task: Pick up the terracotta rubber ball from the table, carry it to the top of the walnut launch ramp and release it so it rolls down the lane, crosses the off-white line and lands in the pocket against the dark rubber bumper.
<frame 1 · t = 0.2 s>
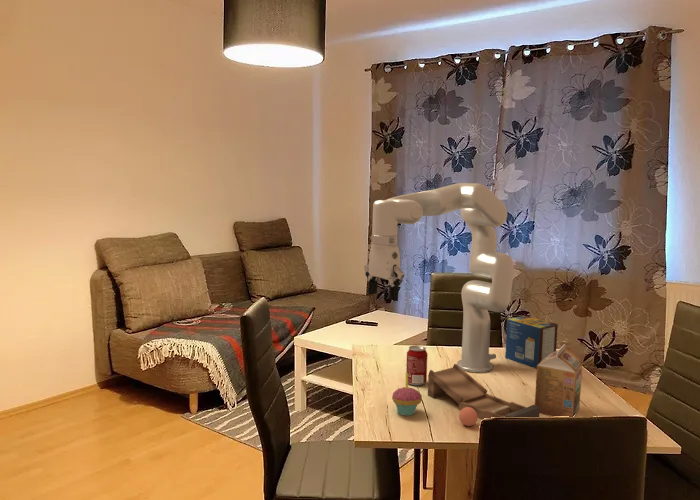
hand: (382, 296, 174), 31 cm above the table, tool pointing down, fingers open, 9 cm apart
ball: (467, 425, 156), on the table
soda can: (416, 383, 188), on the table
milk carton: (556, 411, 167), on the table
protein box: (529, 362, 213), on the table
cupcake: (406, 413, 164), on the table
lane: (476, 407, 168), on the table
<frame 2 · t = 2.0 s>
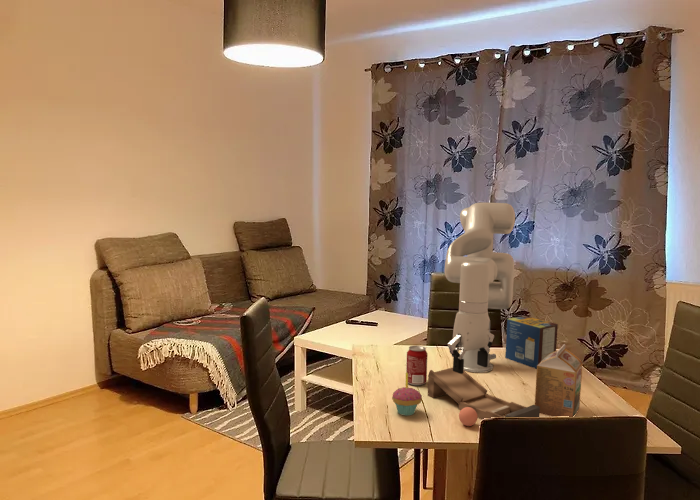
hand: (470, 369, 154), 16 cm above the table, tool pointing down, fingers open, 9 cm apart
nothing on the table moved.
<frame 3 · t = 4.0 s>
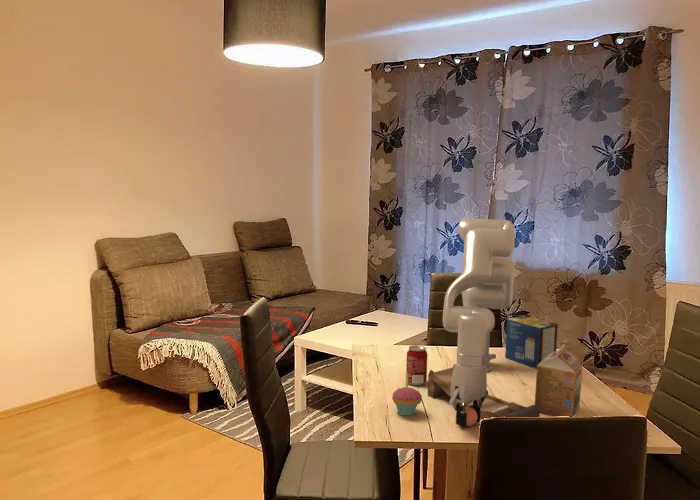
hand: (467, 422, 156), 1 cm above the table, tool pointing down, fingers closed on ball, 4 cm apart
ball: (467, 425, 156), on the table, touching gripper
everything else where it was.
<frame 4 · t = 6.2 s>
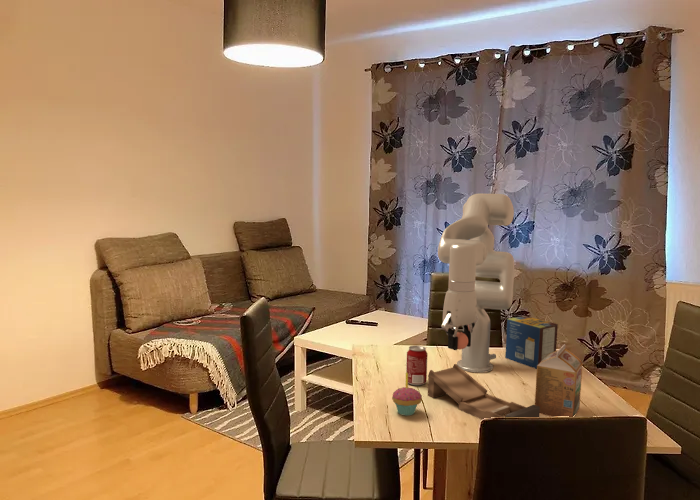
hand: (459, 346, 166), 19 cm above the table, tool pointing down, fingers closed on ball, 4 cm apart
ball: (459, 349, 166), point 18 cm above the table, touching gripper
everything else where it was.
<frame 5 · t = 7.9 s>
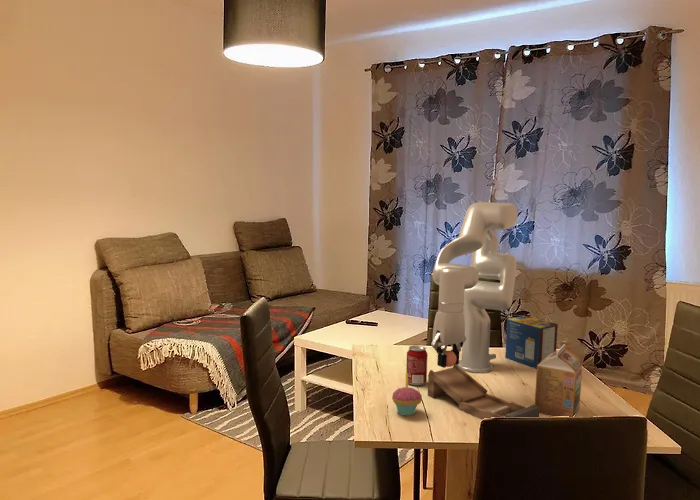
hand: (448, 364, 177), 10 cm above the table, tool pointing down, fingers closed on ball, 4 cm apart
ball: (448, 366, 177), point 9 cm above the table, touching gripper
everything else where it was.
when the fingers open (9 cm above the table, at t = 8.4 s): ball drops 6 cm and tips over, point 2 cm above the table.
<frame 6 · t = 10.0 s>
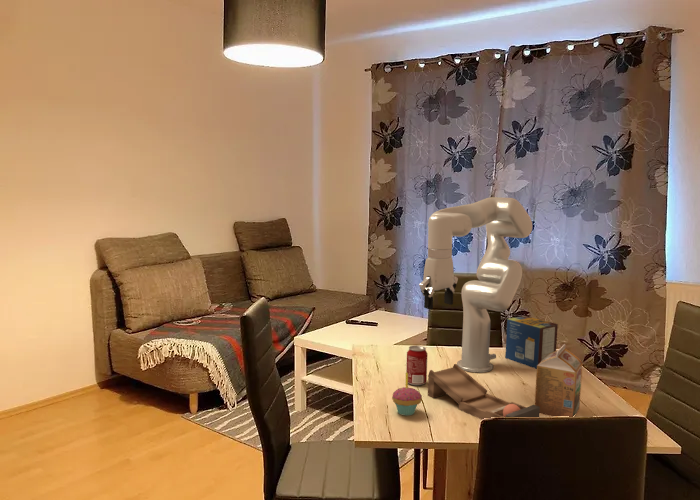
hand: (438, 306, 183), 26 cm above the table, tool pointing down, fingers open, 9 cm apart
ball: (504, 410, 160), point 2 cm above the table, tilted 87°
everything else where it was.
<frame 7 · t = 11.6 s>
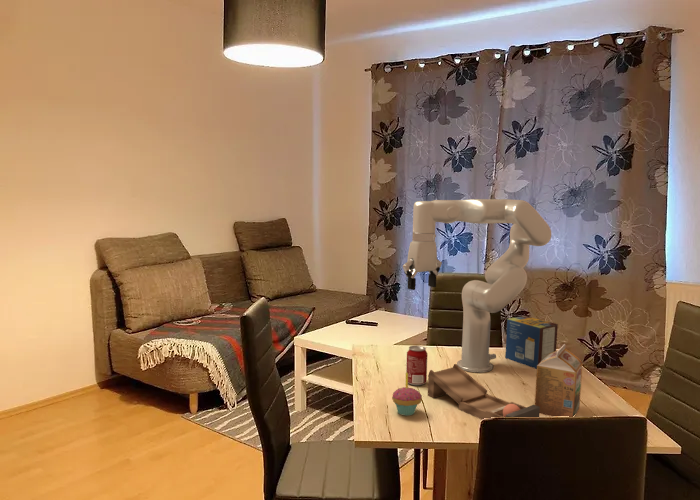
hand: (421, 287, 193), 30 cm above the table, tool pointing down, fingers open, 9 cm apart
nothing on the table moved.
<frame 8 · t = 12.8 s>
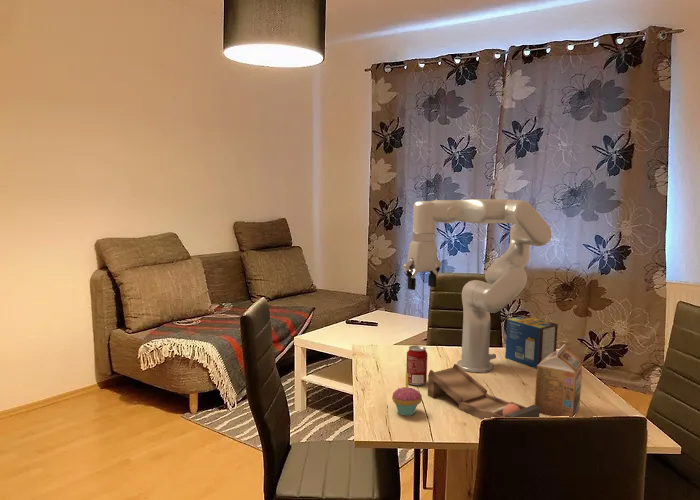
hand: (421, 287, 193), 30 cm above the table, tool pointing down, fingers open, 9 cm apart
nothing on the table moved.
at the end: ball inside the target area on the lane (1.8 cm from its centre), point 2.2 cm above the lane's base; the gripper is holding nothing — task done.
